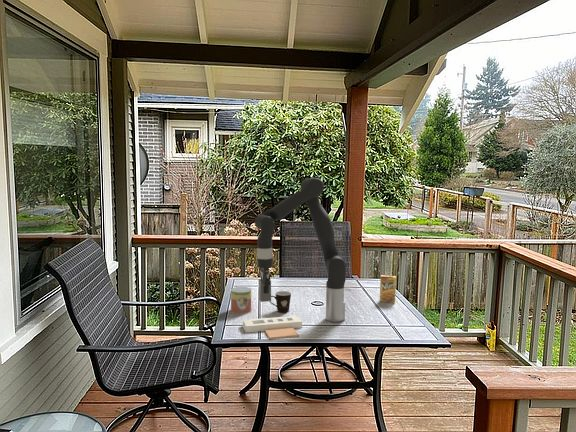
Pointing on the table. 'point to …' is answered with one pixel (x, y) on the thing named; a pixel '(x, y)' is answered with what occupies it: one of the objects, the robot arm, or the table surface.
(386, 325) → the table surface
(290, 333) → the mat
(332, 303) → the robot arm
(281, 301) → the coffee mug
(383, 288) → the candy box
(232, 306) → the canned food
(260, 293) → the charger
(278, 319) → the power strip
